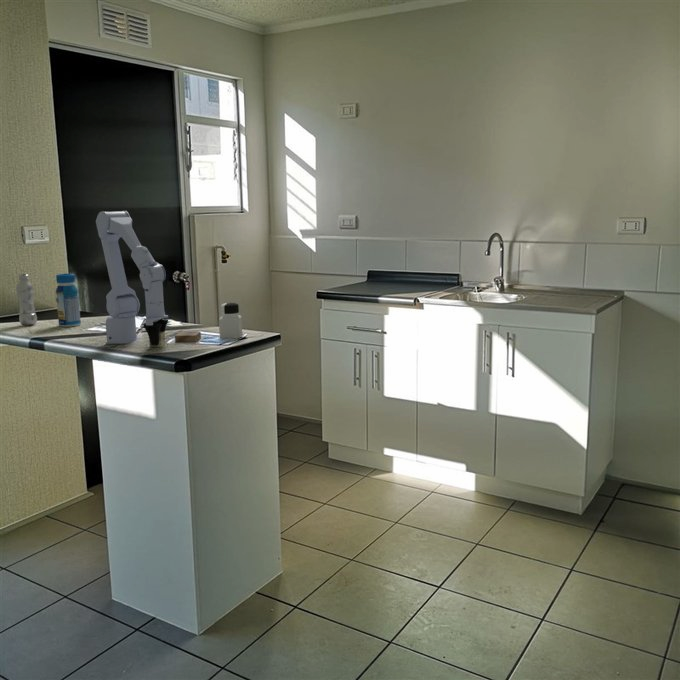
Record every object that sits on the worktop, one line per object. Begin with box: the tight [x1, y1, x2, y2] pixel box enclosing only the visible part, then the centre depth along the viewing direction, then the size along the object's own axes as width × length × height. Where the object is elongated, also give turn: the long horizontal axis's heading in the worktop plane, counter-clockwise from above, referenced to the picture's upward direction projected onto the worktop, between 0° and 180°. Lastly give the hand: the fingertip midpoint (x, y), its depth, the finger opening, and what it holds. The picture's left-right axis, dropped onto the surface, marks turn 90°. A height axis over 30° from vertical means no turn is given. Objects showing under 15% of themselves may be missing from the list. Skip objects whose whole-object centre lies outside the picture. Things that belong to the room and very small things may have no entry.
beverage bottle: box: [55, 273, 82, 328], centre depth 279 cm, size 8×8×20 cm
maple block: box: [148, 331, 166, 348], centre depth 235 cm, size 4×4×5 cm
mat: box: [167, 336, 206, 345], centre depth 243 cm, size 10×12×1 cm
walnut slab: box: [174, 331, 202, 343], centre depth 243 cm, size 7×7×2 cm
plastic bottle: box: [15, 273, 38, 327], centre depth 281 cm, size 6×7×20 cm
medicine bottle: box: [218, 302, 243, 339], centre depth 250 cm, size 7×7×12 cm
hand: (157, 343), depth 235 cm, fingers open, 5 cm apart
